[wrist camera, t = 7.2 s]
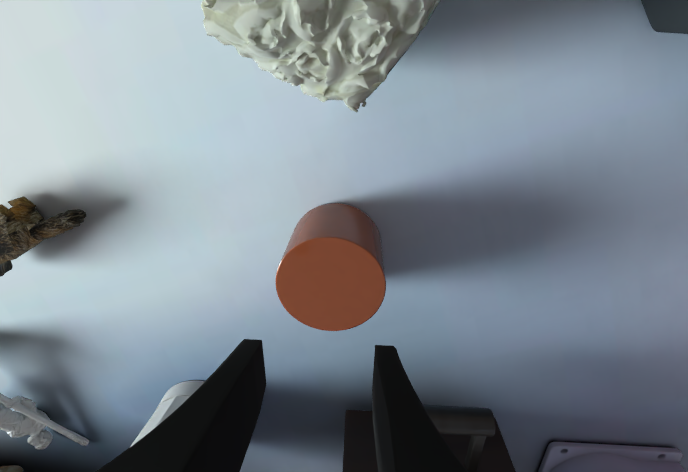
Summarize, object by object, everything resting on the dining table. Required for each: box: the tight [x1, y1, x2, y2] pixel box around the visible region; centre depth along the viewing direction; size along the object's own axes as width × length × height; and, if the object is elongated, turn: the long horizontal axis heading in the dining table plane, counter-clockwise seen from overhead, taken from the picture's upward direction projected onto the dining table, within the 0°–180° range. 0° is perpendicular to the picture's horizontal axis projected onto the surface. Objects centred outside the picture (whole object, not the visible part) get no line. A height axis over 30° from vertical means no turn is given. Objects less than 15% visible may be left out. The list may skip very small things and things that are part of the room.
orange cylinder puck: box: [276, 203, 386, 331], centre depth 19 cm, size 5×5×4 cm
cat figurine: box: [0, 197, 86, 276], centre depth 20 cm, size 3×8×4 cm
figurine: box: [0, 393, 89, 450], centre depth 26 cm, size 5×5×12 cm
